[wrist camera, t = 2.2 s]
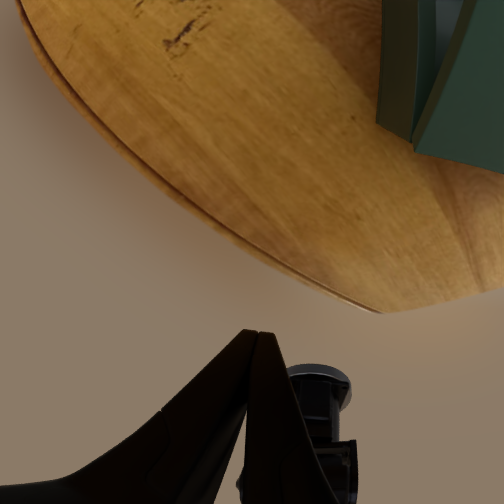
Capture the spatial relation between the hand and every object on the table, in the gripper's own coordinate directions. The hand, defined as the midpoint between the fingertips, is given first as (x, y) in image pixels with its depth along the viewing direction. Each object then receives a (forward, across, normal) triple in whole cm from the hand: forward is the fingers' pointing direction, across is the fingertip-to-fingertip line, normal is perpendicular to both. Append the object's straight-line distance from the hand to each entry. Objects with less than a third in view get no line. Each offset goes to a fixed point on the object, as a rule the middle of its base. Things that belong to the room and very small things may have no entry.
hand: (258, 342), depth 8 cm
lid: (+2, -10, -10) cm, 14 cm away
